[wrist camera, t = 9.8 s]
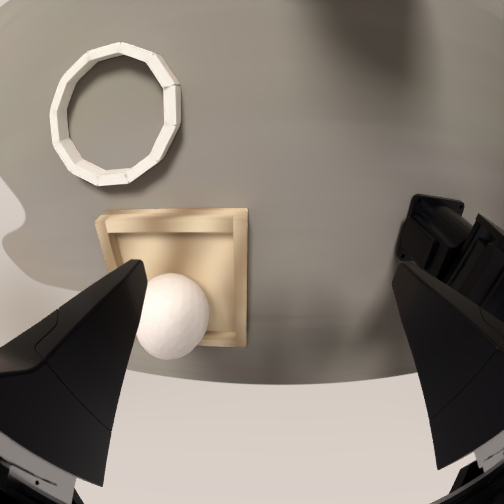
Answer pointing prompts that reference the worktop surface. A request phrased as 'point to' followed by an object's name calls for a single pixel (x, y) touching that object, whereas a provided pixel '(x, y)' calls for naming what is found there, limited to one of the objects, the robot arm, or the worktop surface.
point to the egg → (172, 316)
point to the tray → (188, 257)
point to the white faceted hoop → (64, 95)
